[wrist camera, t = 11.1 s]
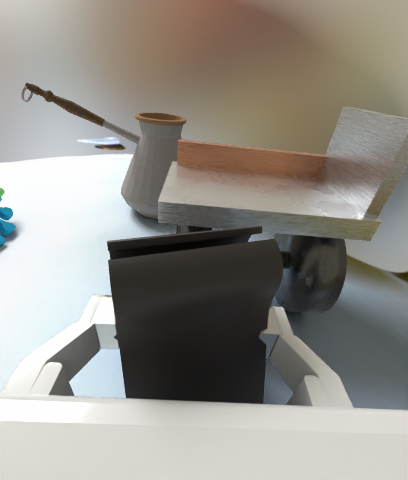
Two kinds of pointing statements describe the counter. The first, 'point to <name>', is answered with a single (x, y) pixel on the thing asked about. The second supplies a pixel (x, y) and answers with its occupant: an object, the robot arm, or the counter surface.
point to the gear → (4, 226)
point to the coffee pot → (136, 151)
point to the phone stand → (194, 313)
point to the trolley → (294, 198)
